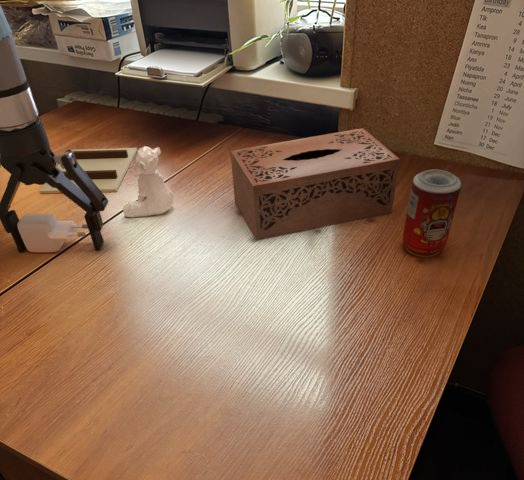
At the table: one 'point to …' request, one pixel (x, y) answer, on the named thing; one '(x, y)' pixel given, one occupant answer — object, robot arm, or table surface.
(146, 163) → the sitting furry creature
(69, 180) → the robot arm
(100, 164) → the slot mat
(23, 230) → the power adapter
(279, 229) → the tissue box cover
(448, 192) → the red snack canister
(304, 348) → the table surface
